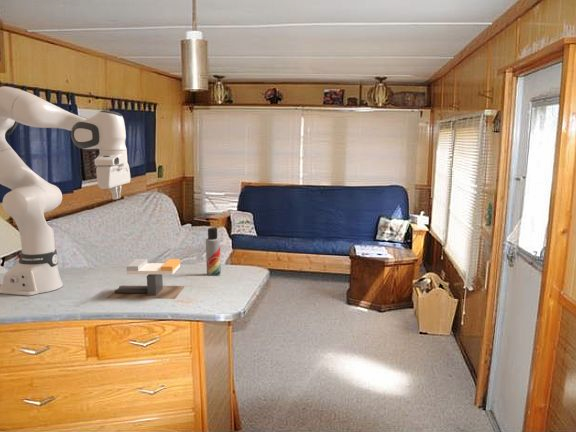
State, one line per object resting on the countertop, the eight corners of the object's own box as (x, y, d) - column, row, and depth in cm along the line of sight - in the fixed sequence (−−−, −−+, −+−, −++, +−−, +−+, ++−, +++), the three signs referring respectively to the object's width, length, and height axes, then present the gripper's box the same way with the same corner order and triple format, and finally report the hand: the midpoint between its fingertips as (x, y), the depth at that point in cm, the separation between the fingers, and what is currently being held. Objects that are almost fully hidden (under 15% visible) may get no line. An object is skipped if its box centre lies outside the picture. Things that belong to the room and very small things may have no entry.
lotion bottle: (218, 277, 197) (216, 228, 194) (204, 276, 198) (203, 228, 195) (222, 273, 202) (221, 226, 199) (209, 272, 204) (208, 225, 200)
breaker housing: (147, 295, 171) (146, 276, 170) (154, 288, 179) (153, 269, 178) (156, 295, 171) (155, 276, 170) (162, 288, 179) (162, 269, 178)
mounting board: (106, 302, 169) (106, 298, 169) (121, 289, 183) (121, 285, 183) (175, 302, 168) (175, 298, 168) (185, 289, 182) (185, 285, 182)
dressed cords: (114, 293, 173) (114, 290, 173) (120, 289, 178) (120, 285, 178) (148, 294, 173) (148, 290, 172) (153, 289, 178) (153, 285, 178)
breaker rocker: (126, 274, 169) (126, 266, 169) (137, 266, 179) (136, 258, 179) (172, 274, 168) (172, 266, 168) (180, 266, 178) (179, 259, 178)
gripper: (116, 157, 178) (119, 194, 180) (91, 160, 158) (95, 203, 160) (133, 157, 178) (135, 194, 180) (111, 160, 158) (113, 203, 160)
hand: (116, 198), depth 170 cm, fingers closed
